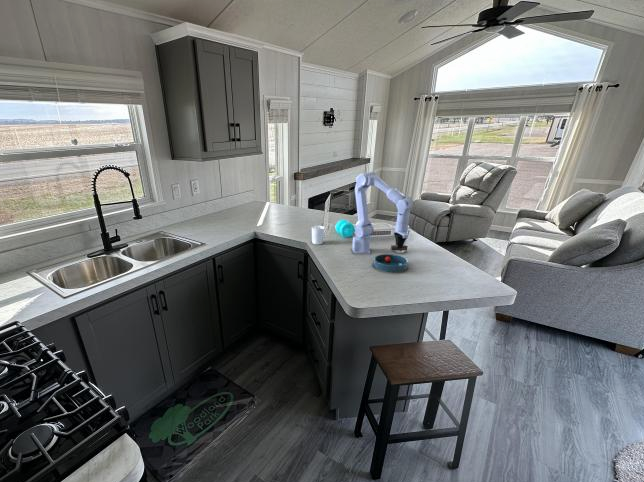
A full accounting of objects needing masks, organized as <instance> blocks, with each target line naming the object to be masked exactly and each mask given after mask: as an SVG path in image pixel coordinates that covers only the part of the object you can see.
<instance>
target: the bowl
mask: <svg viewBox="0 0 644 482" xmlns="http://www.w3.org/2000/svg"><path fill="white" fill-rule="evenodd" d="M386 257H390V258H391V261H390V262H386V261H385V258H386ZM408 262H409V260H408V259H407V258H406V257H404V256H401V255H397V254H392V253H391V254H390V253H382V254H378V255H375V256H374V258H373V267H374V268H376V269H377V270H378V271H381V272H385V273H402V272H405V271H406V270H407V269H408Z"/></svg>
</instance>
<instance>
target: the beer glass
mask: <svg viewBox="0 0 644 482" xmlns="http://www.w3.org/2000/svg"><path fill="white" fill-rule="evenodd" d="M408 230H410V225H408ZM395 233H397V232H395ZM407 234H408V236H409V234H410V232H408V233H407ZM394 239H395V238H394ZM408 239H409V237H408V238H407V239H406V240H405V242H404V244H403V245H407V241H408ZM395 242H396V239H395ZM393 252H395V253H399V254H401V253H402V254H403V253H406V250H393Z"/></svg>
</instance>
